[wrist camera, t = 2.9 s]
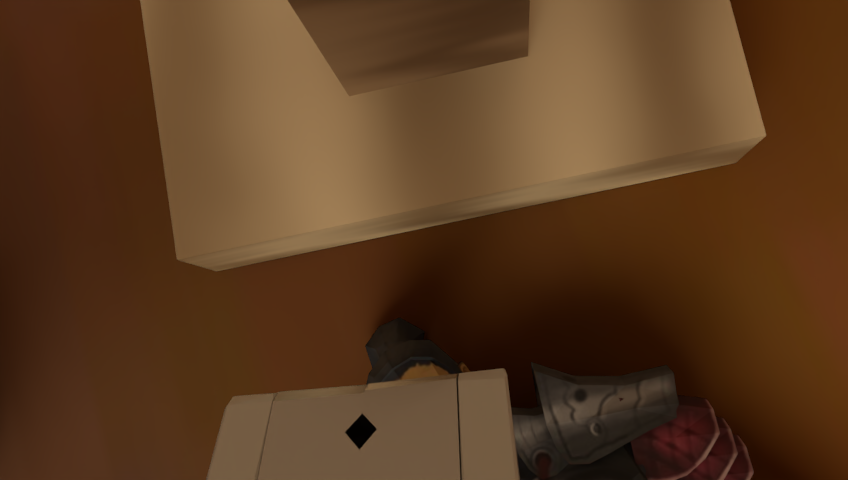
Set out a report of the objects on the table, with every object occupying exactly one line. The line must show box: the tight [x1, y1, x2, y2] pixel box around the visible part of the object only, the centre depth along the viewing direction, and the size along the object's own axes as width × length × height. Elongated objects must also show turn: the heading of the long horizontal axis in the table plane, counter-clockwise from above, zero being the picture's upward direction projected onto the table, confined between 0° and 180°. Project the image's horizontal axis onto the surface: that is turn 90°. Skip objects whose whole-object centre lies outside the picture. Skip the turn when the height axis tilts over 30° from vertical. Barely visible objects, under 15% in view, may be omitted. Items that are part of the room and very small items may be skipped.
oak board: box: [140, 0, 766, 271], centre depth 24 cm, size 16×10×3 cm, turn 101°
